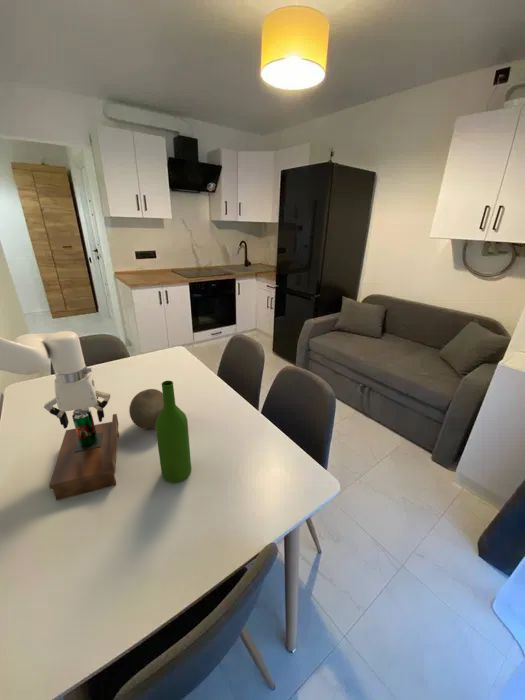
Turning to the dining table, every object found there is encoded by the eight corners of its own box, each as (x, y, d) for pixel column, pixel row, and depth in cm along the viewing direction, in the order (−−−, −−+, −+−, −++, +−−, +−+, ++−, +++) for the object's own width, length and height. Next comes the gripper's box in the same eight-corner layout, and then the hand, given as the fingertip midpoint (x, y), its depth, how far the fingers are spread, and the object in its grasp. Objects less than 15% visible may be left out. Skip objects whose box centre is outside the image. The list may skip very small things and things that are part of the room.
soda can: (91, 434, 96) (83, 404, 91) (101, 439, 94) (94, 409, 90) (76, 443, 92) (67, 412, 87) (86, 449, 90) (78, 418, 85)
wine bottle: (192, 459, 96) (185, 374, 83) (190, 481, 88) (183, 390, 75) (164, 462, 95) (152, 375, 81) (160, 485, 87) (146, 392, 73)
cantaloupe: (128, 440, 103) (122, 405, 97) (136, 416, 116) (130, 383, 110) (169, 436, 106) (166, 401, 100) (172, 412, 119) (169, 381, 113)
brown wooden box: (54, 501, 80) (45, 477, 77) (70, 443, 101) (63, 423, 97) (117, 484, 86) (112, 462, 82) (120, 433, 106) (116, 413, 103)
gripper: (106, 364, 89) (115, 410, 96) (39, 372, 83) (53, 420, 90) (104, 375, 83) (114, 423, 90) (31, 385, 77) (47, 436, 84)
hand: (84, 422), depth 90 cm, fingers open, 9 cm apart
